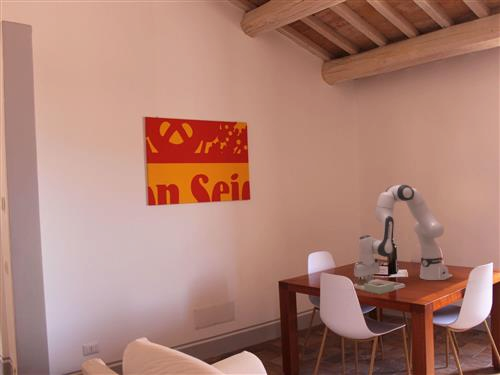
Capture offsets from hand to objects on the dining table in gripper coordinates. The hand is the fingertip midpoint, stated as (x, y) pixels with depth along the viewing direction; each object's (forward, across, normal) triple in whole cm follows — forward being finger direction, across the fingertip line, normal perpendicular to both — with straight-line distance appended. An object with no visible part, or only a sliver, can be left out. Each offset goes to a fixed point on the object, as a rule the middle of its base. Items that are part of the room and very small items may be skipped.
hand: (367, 281), depth 299 cm
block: (+1, -5, 0) cm, 5 cm away
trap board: (+3, +2, -7) cm, 8 cm away
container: (+3, +13, +14) cm, 20 cm away
